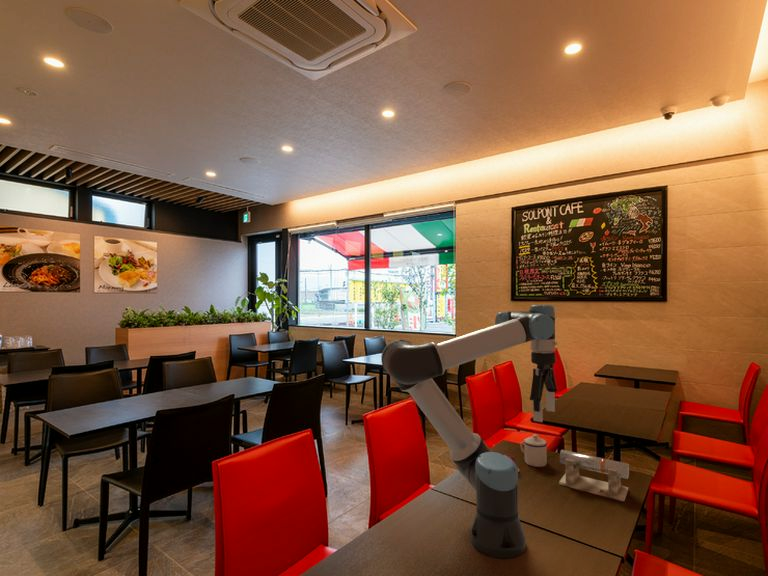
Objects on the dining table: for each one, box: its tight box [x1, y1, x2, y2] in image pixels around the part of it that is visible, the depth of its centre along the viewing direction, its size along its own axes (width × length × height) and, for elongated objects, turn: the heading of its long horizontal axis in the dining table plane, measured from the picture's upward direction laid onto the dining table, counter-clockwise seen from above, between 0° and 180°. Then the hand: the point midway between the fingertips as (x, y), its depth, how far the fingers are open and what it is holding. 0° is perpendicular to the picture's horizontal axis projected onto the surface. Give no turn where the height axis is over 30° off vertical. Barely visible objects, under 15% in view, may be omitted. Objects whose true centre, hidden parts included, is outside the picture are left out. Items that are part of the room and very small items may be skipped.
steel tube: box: [559, 449, 630, 479], centre depth 149 cm, size 22×5×5 cm
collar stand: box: [558, 459, 629, 502], centre depth 149 cm, size 21×10×10 cm, turn 52°
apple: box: [504, 453, 520, 473], centre depth 164 cm, size 8×8×6 cm
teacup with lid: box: [520, 434, 548, 468], centre depth 172 cm, size 12×9×12 cm
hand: (544, 416), depth 134 cm, fingers open, 13 cm apart
